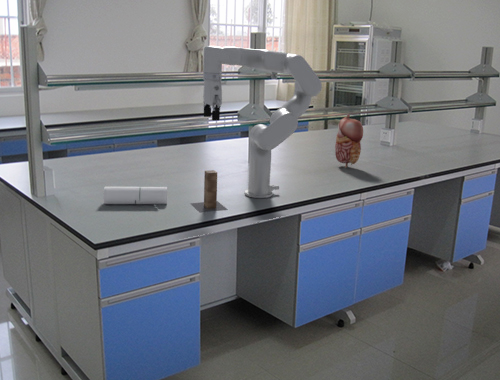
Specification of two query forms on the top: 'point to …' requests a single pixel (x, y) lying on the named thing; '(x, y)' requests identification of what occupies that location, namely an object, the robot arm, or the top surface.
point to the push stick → (210, 189)
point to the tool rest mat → (201, 209)
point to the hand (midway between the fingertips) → (211, 118)
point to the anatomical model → (348, 140)
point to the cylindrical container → (135, 195)
